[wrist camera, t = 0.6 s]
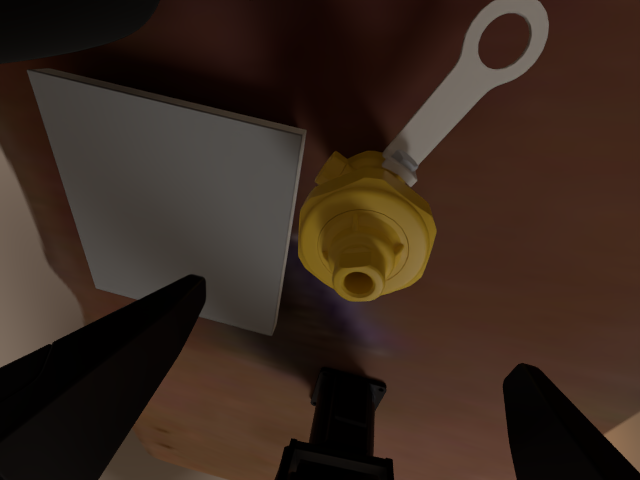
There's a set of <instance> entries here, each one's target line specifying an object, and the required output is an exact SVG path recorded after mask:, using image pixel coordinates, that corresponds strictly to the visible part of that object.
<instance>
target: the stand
mask: <svg viewBox="0 0 640 480" xmlns="http://www.w3.org/2000/svg"><path fill="white" fill-rule="evenodd" d="M27 72H28V75H29V78H30V81H31V85H32V88H33V91H34V94H35V97H36V100H37V104H38V107H39V110H40V113H41V116H42V119H43V122H44V126H45V129H46V132H47V135H48V138H49V141H50V145H51V148H52V151H53V154H54V157H55V160H56V164H57V167H58V170H59V173H60V176H61V179H62V182H63V186H64V189H65V192H66V195H67V198H68V201H69V205H70V208H71V211H72V214H73V217H74V220H75V223H76V227H77V230H78V233H79V236H80V239H81V242H82V246H83V249H84V252H85V255H86V258H87V261H88V264H89V268H90V271H91V274H92V277H93V280H94V283H95V287H96V288H97V289H101V290H104V291H108V292H112V293H115V294H119V295H123V296H126V297H130V298H134V299H137V300H139V299H141V298H143V297H145V296H147V295H149V294H151V293H153V292H155V291H157V290H159V289H161V288H163V287H165V286H167V285H169V284H171V283H173V282H175V281H177V280H179V279H181V278H183V277H185V276H187V275H189V274H195V275H199V276H203V277H204V278H205V279H206V302H205V305H204V307H203V309H202V311H201V313H200V315H199V317H203V318H207V319H210V320H214V321H218V322H221V323H225V324H229V325H232V326H236V327H240V328H243V329H247V330H251V331H254V332H258V333H262V334H265V335H269V336H272V335H273V332H274V330H275V327H276V324H277V319H278V312H279V306H280V299H281V293H282V286H283V280H284V273H285V267H286V261H287V254H288V248H289V241H290V235H291V228H292V222H293V216H294V209H295V203H296V196H297V190H298V183H299V177H300V170H301V164H302V158H303V151H304V145H305V138H306V132H307V130H304V129H300V128H296V127H292V126H288V125H284V124H280V123H275V122H271V121H267V120H263V119H259V118H255V117H250V116H246V115H242V114H238V113H234V112H230V111H225V110H221V109H217V108H213V107H209V106H205V105H200V104H196V103H192V102H188V101H184V100H180V99H175V98H171V97H167V96H163V95H159V94H155V93H150V92H146V91H142V90H138V89H134V88H130V87H126V86H121V85H117V84H113V83H109V82H105V81H101V80H96V79H92V78H88V77H84V76H80V75H76V74H71V73H67V72H63V71H59V70H55V69H51V68H45V69H33V70H27Z"/></svg>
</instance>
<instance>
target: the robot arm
mask: <svg viewBox="0 0 640 480" xmlns="http://www.w3.org/2000/svg"><path fill="white" fill-rule="evenodd" d="M205 302H206V279H205V278H204V277H203V276H199V275H195V274H189V275H187V276H185V277H183V278H181V279H179V280H177V281H175V282H173V283H171V284H169V285H167V286H165V287H163V288H161V289H159V290H157V291H155V292H153V293H151V294H149V295H147V296H145V297H143V298H141V299H139V300H137V301H135V302H133V303H131V304H129V305H127V306H125V307H123V308H121V309H119V310H116V311H114V312H112V313H110V314H108V315H106V316H104V317H102V318H100V319H98V320H96V321H94V322H92V323H90V324H88V325H86V326H84V327H82V328H80V329H78V330H76V331H75V332H72V333H70V334H69V335H66V336H64V337H62V338H60V339H58V340H56V341H54V342H53V343H52V345H51V344H48V345H46V346H44V347H42V348H40V349H38V350H36V351H34V352H32V353H30V354H28V355H26V356H24V357H22V358H19V359H17V360H15V361H13V362H11V363H9V364H7V365H5V366H3V367H1V368H0V480H98V479H99V478H100V476H101V475H102V473H103V471H104V470H105V468H106V467H107V465H108V464H109V462H110V461H111V459H112V458H113V456H114V454H115V453H116V451H117V450H118V448H119V447H120V445H121V444H122V442H123V441H124V439H125V438H126V436H127V435H128V433H129V431H130V430H131V428H132V427H133V425H134V424H135V422H136V421H137V419H138V418H139V416H140V414H141V413H142V411H143V410H144V408H145V407H146V405H147V404H148V402H149V401H150V399H151V397H152V396H153V394H154V393H155V391H156V390H157V388H158V387H159V385H160V384H161V382H162V380H163V379H164V377H165V376H166V374H167V373H168V371H169V370H170V368H171V367H172V365H173V363H174V362H175V360H176V359H177V357H178V355H179V354H180V352H181V350H182V348H183V347H184V345H185V343H186V341H187V339H188V337H189V335H190V333H191V331H192V329H193V327H194V325H195V323H196V321H197V319H198V317H199V315H200V313H201V311H202V309H203V307H204V305H205ZM385 393H386V385H385V384H383V383H380V382H376V381H373V380H369V379H366V378H362V377H358V376H355V375H351V374H347V373H344V372H340V371H337V370H333V369H329V368H321V370H320V373H319V376H318V380H317V383H316V386H315V389H314V392H313V395H312V398H311V404H312V405H313V406H316V407H315V413H314V418H313V423H312V428H311V434H310V439H309V443H306V442H301V441H297V439H292V438H291V441H290V444H289V446H286V447H284V451H283V455H282V459H281V463H280V466H279V470H278V472H277V475H276V477H275V480H394V473H393V460H392V459H390V458H386V459H383V458H379V457H374V456H373V452H374V418H375V410H376V408H377V407H378V405H379V403H380V401H381V400H382V398H383V396H384V394H385ZM503 394H504V403H505V412H506V420H507V429H508V437H509V444H510V449H511V455H512V459H513V464H514V469H515V473H516V478H517V480H640V473H639V472H638V471H637V470H636V469H635V468H634V467H633V466H632V465H631V463H630V462H629V461H628V460H627V459H626V458H625V457H624V456H623V455H622V454H621V453H620V452H619V451H618V450H617V449H616V448H615V447H614V446H613V445H612V444H611V443H610V442H609V441H608V440H607V439H606V437H604V435H603V434H602V433H601V432H600V431H599V430H598V429H597V428H596V427H595V426H594V425H593V424H592V423H591V422H590V421H589V420H588V419H587V418H586V417H585V416H584V415H583V414H582V413H581V412H580V411H579V409H578V408H577V407H576V406H575V405H574V404H573V403H572V402H571V401H570V400H569V399H568V398H567V397H566V396H565V395H564V394H563V393H562V392H561V391H560V390H559V389H558V388H557V387H556V386H555V385H554V384H553V382H552V381H551V380H550V379H549V378H548V377H547V376H546V375H545V374H544V373H543V372H542V371H541V370H540V369H539V368H537V367H535V366H532V365H528V364H524V363H521V364H518V365H517V366H516V367H515V368H514V369H513V370H512V371H511V373H510V374H509V375H508V376H507V377H506V378H505V379H504V382H503Z"/></svg>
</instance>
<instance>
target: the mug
mask: <svg viewBox="0 0 640 480" xmlns="http://www.w3.org/2000/svg"><path fill="white" fill-rule="evenodd" d="M159 1H160V0H0V64H2V63H10V62H18V61H25V60H32V59H38V58H44V57H50V56H56V55H62V54H67V53H72V52H77V51H81V50H85V49H89V48H93V47H97V46H101V45H104V44H108V43H111V42H114V41H116V40H119V39H121V38H124V37H126V36H128V35H130V34H132V33H133V32H135V31H137V30H138V29H139V28H141V27H142V26H143V25H144V24H145V23H146V22H147V21H148V20H149V19H150V17H151V16H152V14H153V13H154V11H155V10H156V8H157V6H158V3H159Z"/></svg>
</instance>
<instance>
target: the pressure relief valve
mask: <svg viewBox="0 0 640 480" xmlns="http://www.w3.org/2000/svg"><path fill="white" fill-rule="evenodd" d="M506 13H517V14H518V15H520V16H522V17H524V19H525V20H526V22H527V24H528V25H529V34H530V36H529V40H528V44H527V47H526V48H525V50H524V52H523V53H522V55H521V56H520V57H519V58H518V59H517V60H516V61H515V62H514V63H513V64H511V65H509V66H507V67H505V68H501V69H490V68H487V67H486V66H485V65H484V64H483V63H482V62H481V60H480V58H479V55H478V43H479V40H480V37H481V34H482V32H483V31H484V29H485V28H486V27H487V25H488V24H489V23H490V22H491V21H493V20H494V19H495V18H496V17H498V16H500V15H503V14H506ZM548 27H549V22H548V18H547V13H546V11H545V9H544V7H543V6H542V4H541V3H540V2H539V1H538V0H494V1H492V2H491V3H489V4H488V5H487V6H486V7H484V8H483V9H482V10H481V11H480V12H479V13H478V14H477V15H476V17H475V18H474V19H473V20H472V22H471V23H470V25H469V27H468V29H467V31H466V33H465V36H464V40H463V44H462V49H461V53H460V56H459V59H458V61H457V63H456V64H455V66H454V67H453V69H452V70H451V71H450V72H449V73H448V75H447V76H446V77H445V78H444V79H443V81H442V82H441V83H440V84H439V85H438V87H437V88H436V89H435V90H434V91H433V93H432V94H431V95H430V96H429V97H428V99H427V100H426V101H425V102H424V103H423V105H422V106H421V107H420V108H419V109H418V111H417V112H416V113H415V114H414V115H413V117H412V118H411V119H410V120H409V121H408V123H407V124H406V125H405V126H404V127H403V129H402V130H401V131H400V132H399V133H398V135H397V136H396V137H395V138H394V139H393V141H392V142H391V143H390V144H389V145H388V147H387V148H386V149H385V150H384V152H383V153H382V152H378V151H365V152H362V153H359V154H357V155H355V156H353V157H350V158H348V159H346V158H345V157H344V156H342V155H341V154H340V153H338V152H337V151H335V152H334V153H333V154H332V155H331V156H330V158H329V159H328V160H327V162H326V163H325V164H324V166H323V167H322V169H321V170H320V172H319V173H318V175H317V177H316V179H315V182H316V183H317V184H319V185H318V186H316V187H315V188H314V189H313V190H312V191H311V192H310V194H309V195H308V197H307V198H306V200H305V202H304V204H303V206H302V208H301V210H300V219H299V237H298V257H299V258H300V260H301V262H302V264H303V265H304V267H305V268H306V269H307V270H308V271H309V272H311V273H312V274H313V275H314V276H316V277H317V278H318V279H319V280H321V281H322V282H323V283H325V284H326V285H328V286H329V287H331V288H333V289H335V291H336V292H337V293H338V294H339V295H340V296H341V297H343V298H344V299H346V300H348V301H371V300H374V299H376V298H378V297H379V296H380V295H384V294H388V293H391V292H394V291H397V290H400V289H403V288H406V287H408V286H411V285H412V284H413V283H415V282H416V281H417V280H418V279H420V278H421V277H422V274H423V272H424V270H425V267H426V264H427V262H428V259H429V256H430V253H431V249H432V246H433V242H434V239H435V235H436V227H435V223H434V219H433V216H432V213H431V210H430V206H429V204H428V202H426V201H425V200H424V199H423V198H422V197H421V196H419V195H418V194H417V193H416V192H414V191H413V190H412V189H411V188H409V187H408V186H407V185H405V184H404V183H405V182H406V183H407V184H408V185H409V186H410V187H412V185H413V184H414V183H415V182H416V181H417V176H416V172H415V170H416V169H417V168H418V165H419V164H420V163H421V161H422V160H423V159H424V158H425V157H426V156H427V155H428V154H429V153H430V152H431V151H432V150H433V149H434V148H435V147H436V145H437V144H438V143H439V142H440V141H441V140H442V139H443V138H444V137H445V136H446V135H447V134H448V133H449V132H450V131H451V129H452V128H453V127H454V126H455V125H456V124H457V123H458V122H459V121H460V120H461V119H462V118H463V117H464V116H465V115H466V113H467V112H468V111H469V110H470V109H471V108H472V107H473V106H474V105H475V104H476V103H477V102H478V101H479V100H480V99H481V97H482V96H483V95H484V94H486V93H487V92H488V91H489V90H491V89H492V88H494V87H496V86H498V85H501V84H504V83H506V82H509V81H511V80H514V79H516V78H517V77H519V76H520V75H522V74H523V73H525V72H526V71H527V70H528V69H529V68H530V67H531V66H532V65H533V64H534V63H535V62H536V60H537V58H538V57H539V55H540V54H541V52H542V50H543V48H544V45H545V43H546V40H547V37H548Z"/></svg>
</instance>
